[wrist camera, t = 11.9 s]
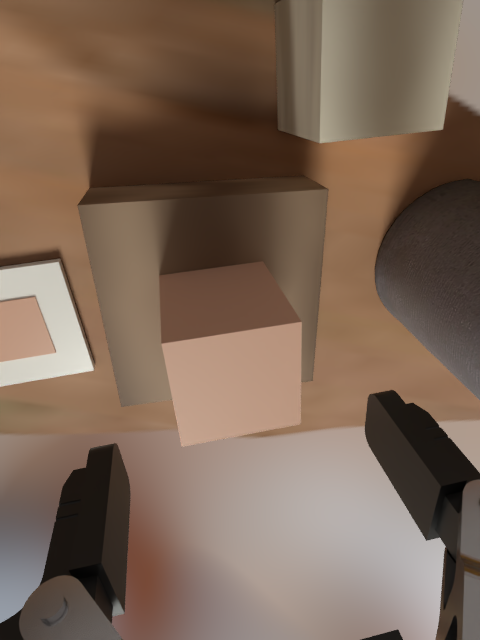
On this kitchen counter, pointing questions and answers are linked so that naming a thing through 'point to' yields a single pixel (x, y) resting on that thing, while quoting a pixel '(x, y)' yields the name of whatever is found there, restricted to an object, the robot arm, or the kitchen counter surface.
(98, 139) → the kitchen counter surface
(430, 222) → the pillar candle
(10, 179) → the kitchen counter surface
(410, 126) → the birch block
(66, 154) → the kitchen counter surface
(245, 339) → the terracotta block
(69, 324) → the card
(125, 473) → the robot arm
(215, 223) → the walnut block
